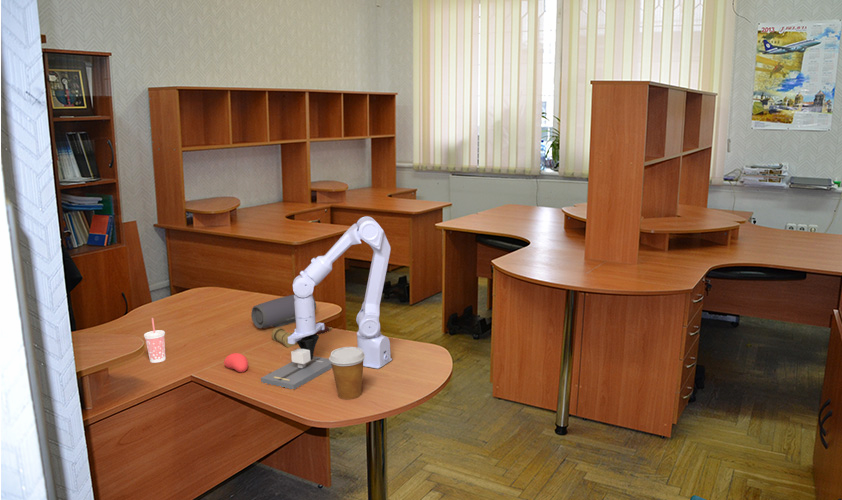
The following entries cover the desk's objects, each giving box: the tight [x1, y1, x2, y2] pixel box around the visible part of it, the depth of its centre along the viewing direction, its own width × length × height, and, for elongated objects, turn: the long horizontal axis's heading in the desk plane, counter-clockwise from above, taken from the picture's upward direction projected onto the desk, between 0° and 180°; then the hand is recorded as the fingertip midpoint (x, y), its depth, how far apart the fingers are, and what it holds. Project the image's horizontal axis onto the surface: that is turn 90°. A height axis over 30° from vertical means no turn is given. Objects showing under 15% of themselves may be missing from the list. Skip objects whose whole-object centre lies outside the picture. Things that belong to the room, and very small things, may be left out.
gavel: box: [270, 325, 333, 348], centre depth 222 cm, size 21×5×10 cm
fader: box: [290, 347, 311, 368], centre depth 189 cm, size 4×3×5 cm
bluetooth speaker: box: [250, 293, 317, 329], centre depth 237 cm, size 23×9×10 cm, turn 136°
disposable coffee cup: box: [328, 346, 365, 400], centre depth 173 cm, size 10×10×12 cm
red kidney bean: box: [223, 352, 249, 373], centre depth 195 cm, size 5×9×6 cm
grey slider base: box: [260, 355, 332, 390], centre depth 189 cm, size 12×20×2 cm, turn 151°
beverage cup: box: [143, 317, 166, 364], centre depth 204 cm, size 6×6×14 cm
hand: (308, 359), depth 193 cm, fingers closed
